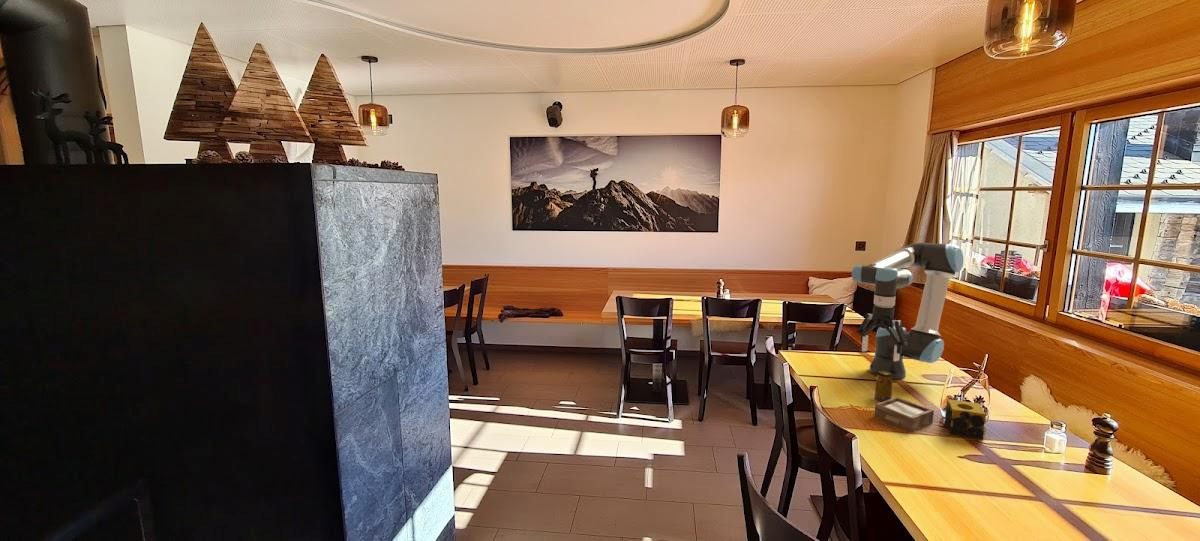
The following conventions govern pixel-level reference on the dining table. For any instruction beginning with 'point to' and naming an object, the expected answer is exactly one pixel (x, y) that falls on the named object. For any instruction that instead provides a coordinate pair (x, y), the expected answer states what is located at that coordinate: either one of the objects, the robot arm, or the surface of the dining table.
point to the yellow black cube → (965, 419)
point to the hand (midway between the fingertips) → (879, 355)
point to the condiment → (883, 386)
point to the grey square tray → (904, 414)
